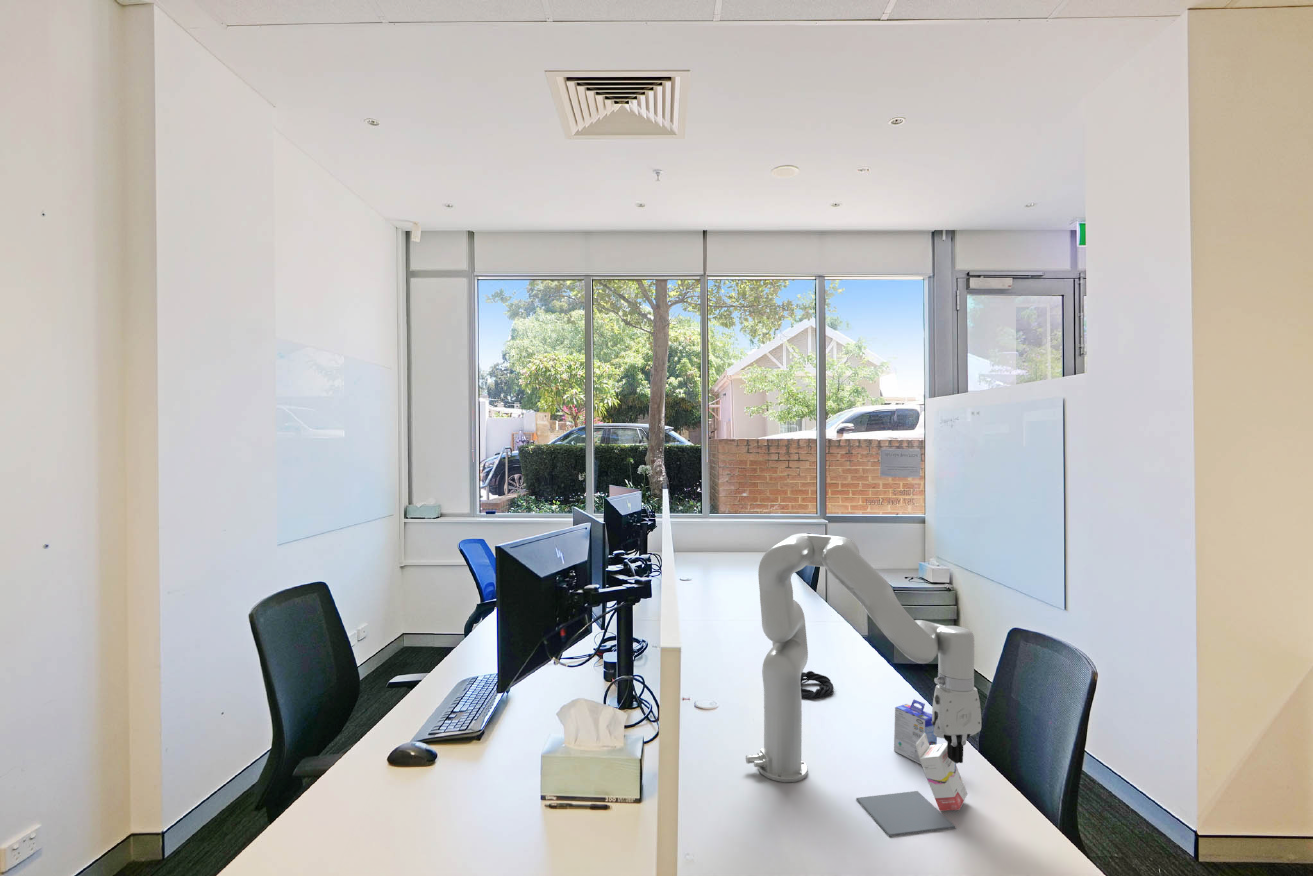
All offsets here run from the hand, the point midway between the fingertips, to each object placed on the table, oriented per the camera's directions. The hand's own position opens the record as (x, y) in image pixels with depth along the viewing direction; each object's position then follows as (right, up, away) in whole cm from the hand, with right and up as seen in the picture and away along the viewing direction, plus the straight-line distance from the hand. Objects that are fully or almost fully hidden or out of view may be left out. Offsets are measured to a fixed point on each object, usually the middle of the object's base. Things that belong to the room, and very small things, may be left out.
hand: (955, 760), depth 147 cm
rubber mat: (-13, -11, -3) cm, 17 cm away
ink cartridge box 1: (0, -11, +23) cm, 26 cm away
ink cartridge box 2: (0, -10, 0) cm, 10 cm away
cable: (-16, -11, +68) cm, 71 cm away
